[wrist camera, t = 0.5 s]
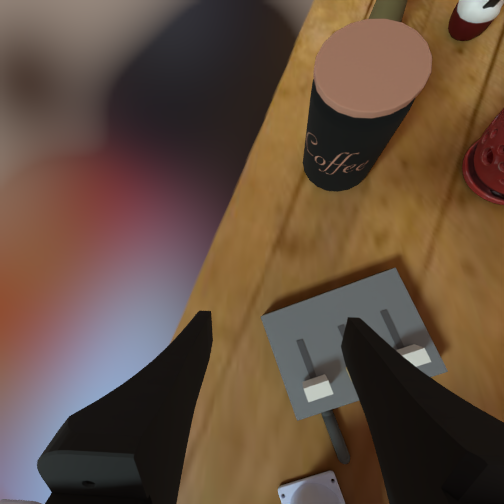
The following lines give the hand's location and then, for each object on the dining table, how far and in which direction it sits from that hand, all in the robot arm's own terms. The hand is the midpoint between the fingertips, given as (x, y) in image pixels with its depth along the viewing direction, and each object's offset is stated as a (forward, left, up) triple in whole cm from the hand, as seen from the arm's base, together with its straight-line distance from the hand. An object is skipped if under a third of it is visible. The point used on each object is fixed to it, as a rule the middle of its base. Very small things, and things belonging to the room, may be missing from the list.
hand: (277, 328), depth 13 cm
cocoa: (+33, -46, -25) cm, 62 cm away
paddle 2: (-10, -13, -22) cm, 27 cm away
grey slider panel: (-7, -7, -25) cm, 27 cm away
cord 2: (-18, -1, -25) cm, 31 cm away
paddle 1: (-10, -1, -22) cm, 24 cm away
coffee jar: (+19, -17, -25) cm, 36 cm away
